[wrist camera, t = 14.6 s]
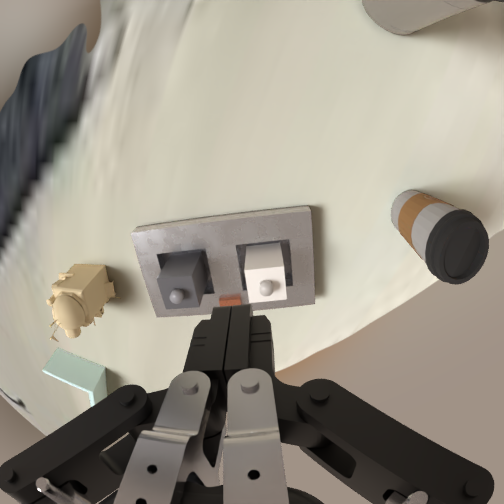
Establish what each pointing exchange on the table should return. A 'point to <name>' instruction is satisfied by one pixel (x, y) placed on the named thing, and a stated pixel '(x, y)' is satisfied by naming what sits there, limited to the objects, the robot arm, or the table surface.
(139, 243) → the socket plate
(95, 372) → the l-shaped corner panel
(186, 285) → the grey plug
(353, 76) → the table surface
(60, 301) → the robot
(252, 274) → the white plug
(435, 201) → the coffee cup
